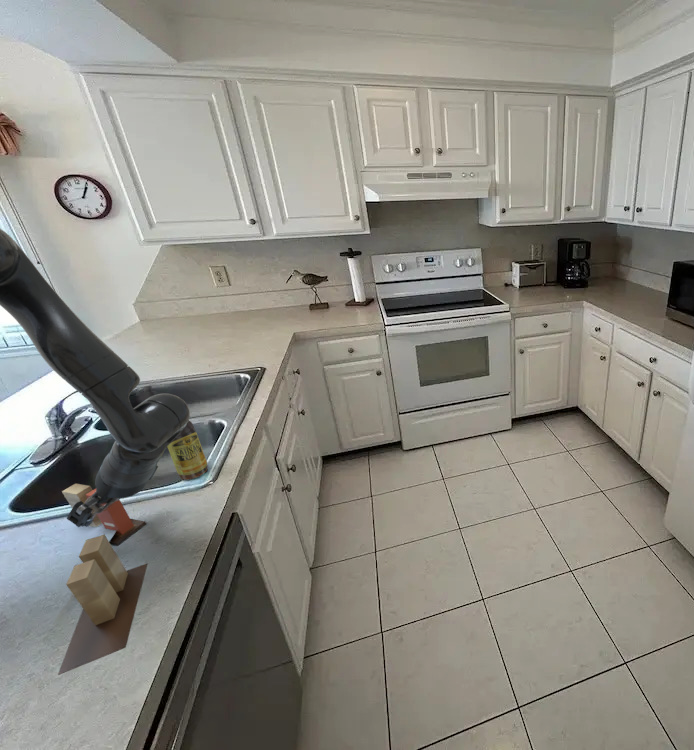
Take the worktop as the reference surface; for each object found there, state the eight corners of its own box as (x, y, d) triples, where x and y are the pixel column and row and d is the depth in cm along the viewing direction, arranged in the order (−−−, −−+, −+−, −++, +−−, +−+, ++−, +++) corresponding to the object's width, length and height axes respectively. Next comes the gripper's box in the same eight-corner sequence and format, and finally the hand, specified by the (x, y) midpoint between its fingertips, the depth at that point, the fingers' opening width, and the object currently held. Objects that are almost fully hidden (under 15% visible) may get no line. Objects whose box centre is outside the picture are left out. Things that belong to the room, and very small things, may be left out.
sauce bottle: (187, 484, 100) (156, 414, 91) (175, 476, 103) (143, 407, 94) (215, 469, 105) (188, 402, 96) (203, 462, 108) (175, 395, 99)
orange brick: (121, 535, 85) (100, 497, 80) (106, 532, 85) (84, 495, 81) (134, 525, 87) (114, 488, 83) (119, 522, 88) (98, 486, 83)
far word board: (117, 545, 83) (93, 505, 79) (73, 536, 86) (47, 496, 81) (146, 523, 88) (125, 484, 84) (103, 515, 91) (81, 477, 86)
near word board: (59, 678, 61) (21, 633, 56) (95, 584, 75) (66, 542, 71) (127, 650, 64) (96, 605, 60) (149, 566, 79) (125, 524, 74)
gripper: (148, 434, 82) (126, 472, 89) (66, 481, 69) (49, 521, 77) (179, 459, 83) (155, 495, 90) (104, 509, 70) (84, 546, 78)
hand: (107, 507), depth 83 cm, fingers open, 8 cm apart
